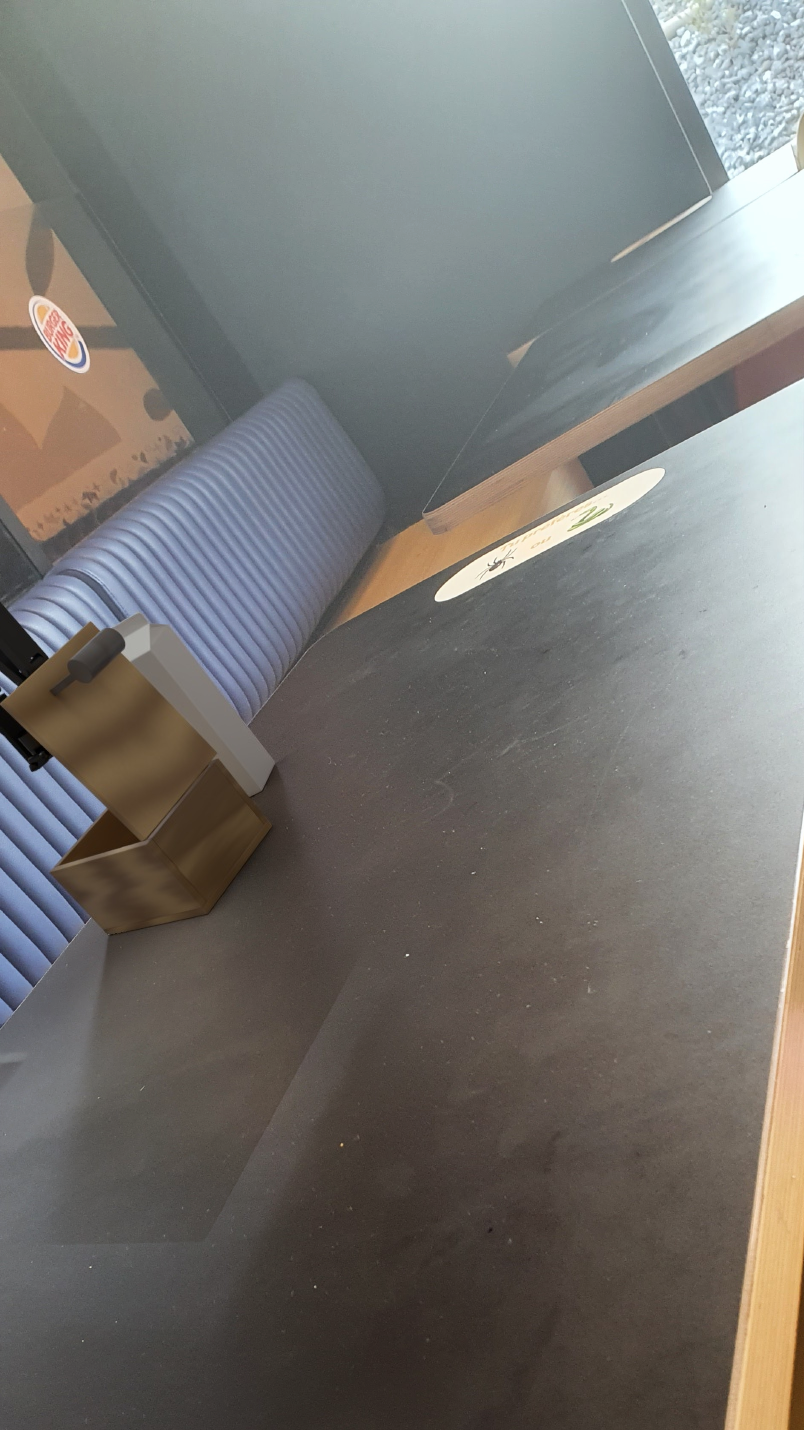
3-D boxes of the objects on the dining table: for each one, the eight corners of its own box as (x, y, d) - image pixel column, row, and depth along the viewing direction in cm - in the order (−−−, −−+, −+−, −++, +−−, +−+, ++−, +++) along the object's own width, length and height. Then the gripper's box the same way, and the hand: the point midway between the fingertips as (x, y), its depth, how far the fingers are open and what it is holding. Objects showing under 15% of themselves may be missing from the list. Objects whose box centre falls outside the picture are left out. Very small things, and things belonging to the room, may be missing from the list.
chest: (108, 935, 116) (48, 872, 112) (174, 852, 124) (121, 790, 120) (208, 914, 107) (146, 844, 103) (272, 825, 115) (218, 757, 111)
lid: (-1, 704, 97) (38, 671, 92) (86, 624, 105) (126, 590, 100) (141, 841, 103) (184, 818, 98) (213, 755, 111) (256, 729, 106)
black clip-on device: (34, 764, 110) (10, 738, 109) (95, 719, 111) (72, 692, 109) (35, 776, 106) (11, 749, 105) (99, 729, 107) (75, 702, 105)
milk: (262, 791, 124) (129, 623, 114) (219, 812, 127) (84, 649, 116) (276, 761, 129) (150, 598, 119) (234, 782, 132) (106, 623, 121)
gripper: (-43, 477, 95) (140, 701, 106) (-146, 550, 106) (29, 746, 117) (-106, 520, 90) (92, 750, 101) (-207, 593, 101) (-18, 793, 112)
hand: (58, 748), depth 109 cm, fingers closed on black clip-on device, 5 cm apart
